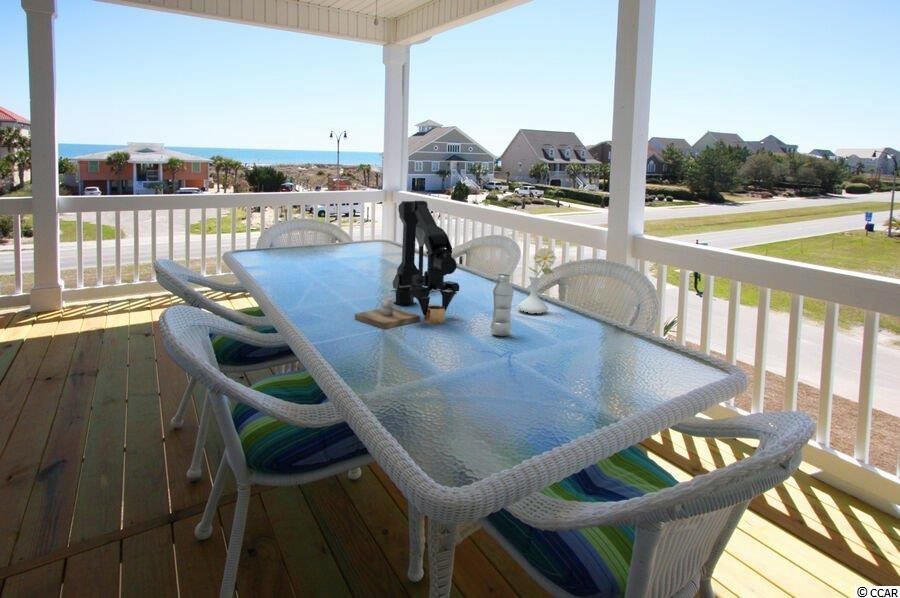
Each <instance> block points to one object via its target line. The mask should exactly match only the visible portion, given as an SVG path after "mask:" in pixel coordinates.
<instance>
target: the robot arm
mask: <svg viewBox="0 0 900 598" xmlns="http://www.w3.org/2000/svg"><path fill="white" fill-rule="evenodd" d="M397 209H398V210H397V211H398V217H399V219H400V221H401V222H402V224H403V225H402V227H403V229H402V247H401V248H402V251H401V263H400V264H399V266H398V267H397V269H396V270H397V271H396V274H395V276H394V278H393V280H392V288H393V289H395V290H396V292H395V301H393V304H396V305H398V306H402V307H407V306H412V305H416V304H417V302H418V303H419V306H420V309H421V313H422V315H423V316H424V315H425V316H426V314H427V311H428V306H429V305H430V302H431V301H430V300H431V297H430V293H437V292H440V294H441V306H444V307H445V312H446V311H447V309H448V307H449V305H450V304H451V302H452V300H453V298H454V297H455V295H456V294H457V292H459V291H460V284H459V283H458V282H456V281H450V280H448V281H447V280H446V281H445V279H444V278H445V276H447V275H452V274H453V273H454V272H455V271H456V270H457V267H458V266H457V265H458V263H457V261H456V259H455V258H454V257H453V256H452V255H453V247H452V244H451V242H450V239H449V236H448V234H447V233H446V231H445V230H444V229H443V228H441V227H440V226H438V225H437V223H436V221H435V219H434V216H433V215H432V213H431V211H430V209H429V206H428V202H427V201H425V200H404V201H403V200H402V201H401V202H400V204H398V208H397ZM418 222H420V224H421V226H422V229H423V231H424V233H425V237H424V243H425V244H424V246H425V248H426V252H425V253H426V255H427V269H426V270H425V271H424V272H423V276H419V268H418V267H417V265H415V258H416V257H415V255H416V241H417V239H416V225H417V224H418ZM422 286H423V287H422ZM414 298H415V299H416V300H417V302H416V301H415V299H414Z"/></svg>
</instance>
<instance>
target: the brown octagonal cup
mask: <svg viewBox="0 0 900 598" xmlns="http://www.w3.org/2000/svg"><path fill="white" fill-rule="evenodd" d="M445 312H446V311H445V307H444V306H442V305H439V304H429V306H428V311H427V314H426V316H425V315H423V317H424V318H423V322H424V323H426V324H429V325H440V324H445V317H446V316H445V315H446V314H445Z"/></svg>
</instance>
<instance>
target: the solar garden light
mask: <svg viewBox="0 0 900 598" xmlns="http://www.w3.org/2000/svg"><path fill="white" fill-rule="evenodd" d="M424 237H425V233H424V231H423V229H422V226H421V224H420V222H418V224H417V225H416V242H417V245H418V270H419V276H424V246H425V243H424ZM422 287H424V286H422Z"/></svg>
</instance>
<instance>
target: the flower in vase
mask: <svg viewBox="0 0 900 598" xmlns="http://www.w3.org/2000/svg"><path fill="white" fill-rule="evenodd" d="M532 259H533V260H534V262H535V265H537V266H539V267H541V268H540V270H539V272H538V271H537V270H535V269H533V268H531V267H530V266H528V268H529V270H531V271H532V272H535V273H536V274H531V275H527V276H528V279H529V281H530V287H531V288H530V293H529V296H528V297H526V298H525V299H523V300H522V301H521V302H520V303H519V304H518V305H517V309H518V310H519V311H521V312H523V311H524V312H523V313H526V312H528V313H527V314H534V313H537V314H543V313H546V312H548V310H549V307H548V305H547V304H546V303H545V302H544V301H543V300H542V299H540V297H539V296H538V286H539V282H540V280H541V279H542V276H541V275H539V274H540V273H541V272H542V273H543V274H544V275H551V274H553V273H554V272H553V270H552V269H550V267H551V266H554V263H555V261H556V259H557V258H556V255H555V253H554V250H553V249H550V248H549V247H545V246H544V247H540V248H539V249H536V251H535V253H534V256H533V258H532ZM542 312H543V313H542Z"/></svg>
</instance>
